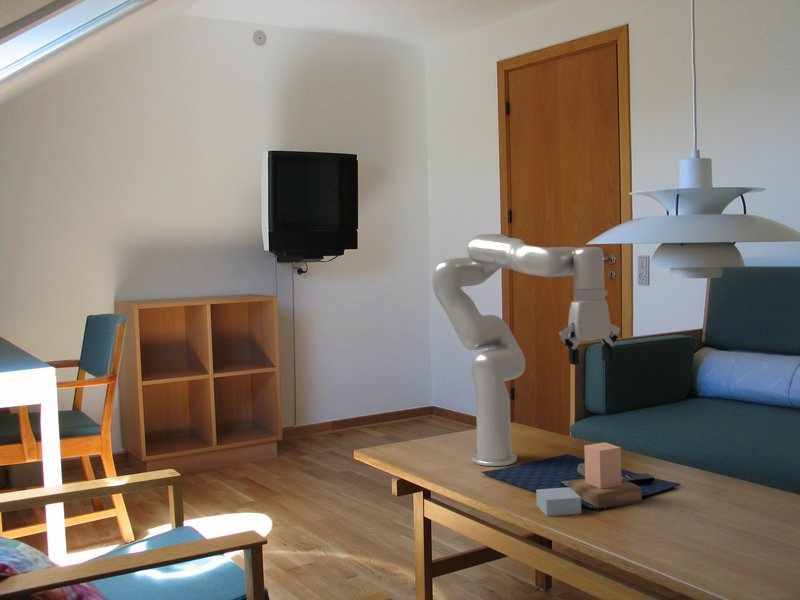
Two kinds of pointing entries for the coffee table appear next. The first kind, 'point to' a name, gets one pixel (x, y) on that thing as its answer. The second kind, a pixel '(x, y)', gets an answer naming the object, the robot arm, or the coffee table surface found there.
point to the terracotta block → (603, 465)
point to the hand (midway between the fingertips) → (590, 362)
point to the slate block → (558, 501)
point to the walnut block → (607, 493)
